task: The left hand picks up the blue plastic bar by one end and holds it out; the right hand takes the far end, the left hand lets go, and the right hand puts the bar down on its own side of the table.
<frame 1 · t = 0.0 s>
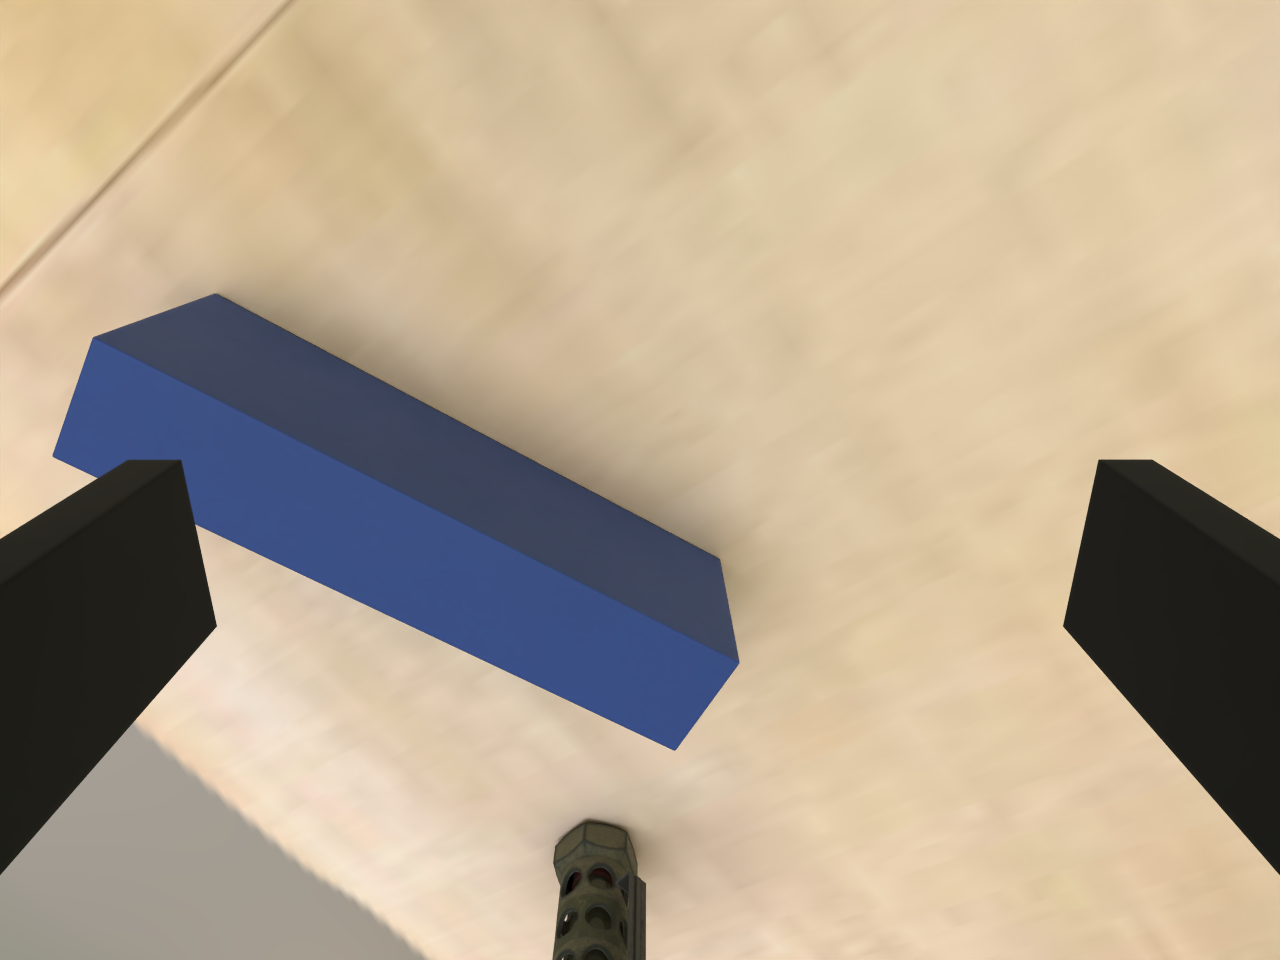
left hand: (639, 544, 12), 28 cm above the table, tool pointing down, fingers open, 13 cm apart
bar: (460, 477, 42), on the table
grenade: (617, 846, 51), on the table
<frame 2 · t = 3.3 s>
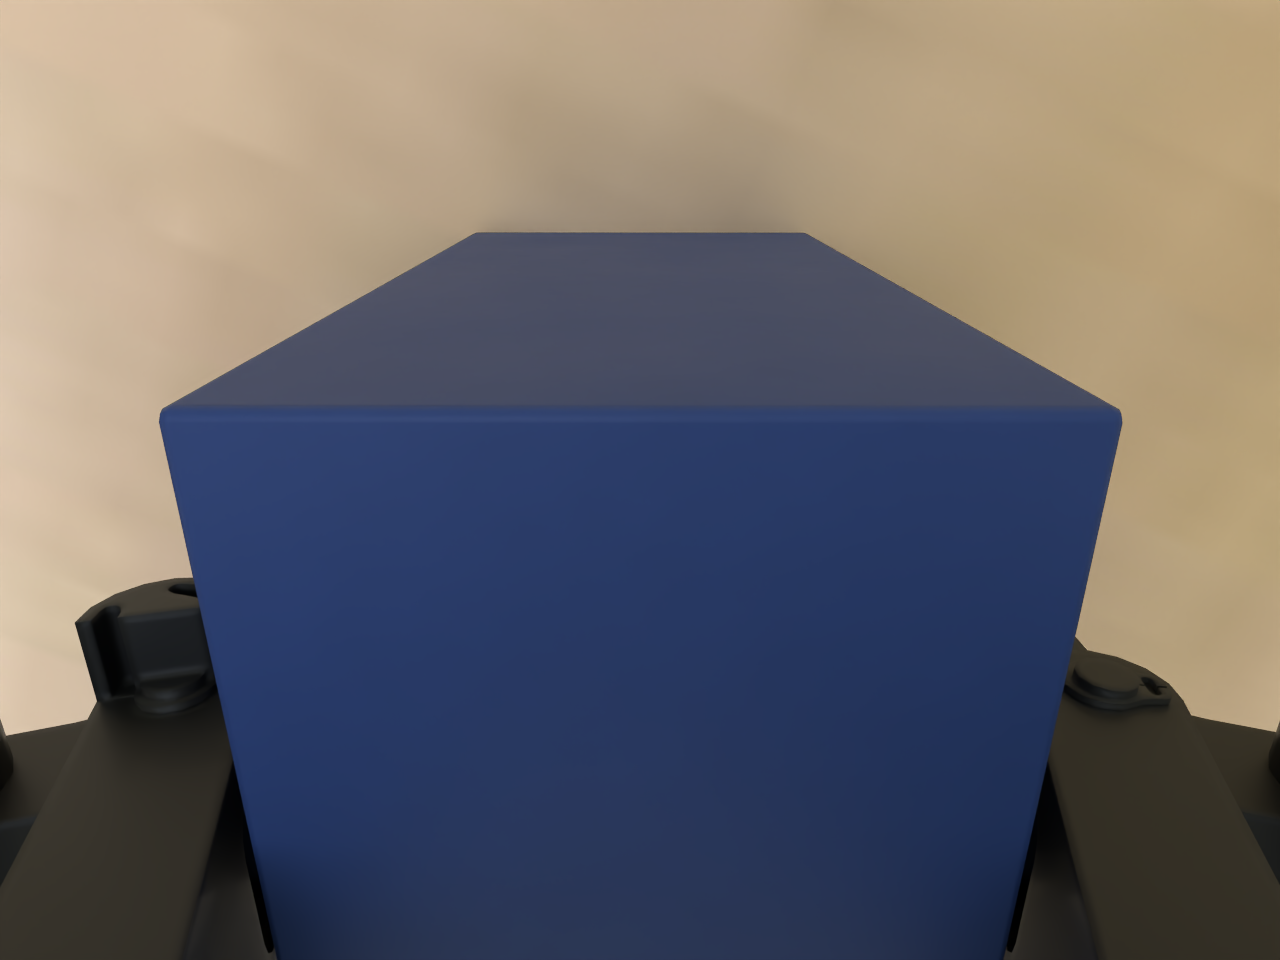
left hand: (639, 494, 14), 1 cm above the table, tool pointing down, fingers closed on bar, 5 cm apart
bar: (639, 886, 18), on the table, touching left hand
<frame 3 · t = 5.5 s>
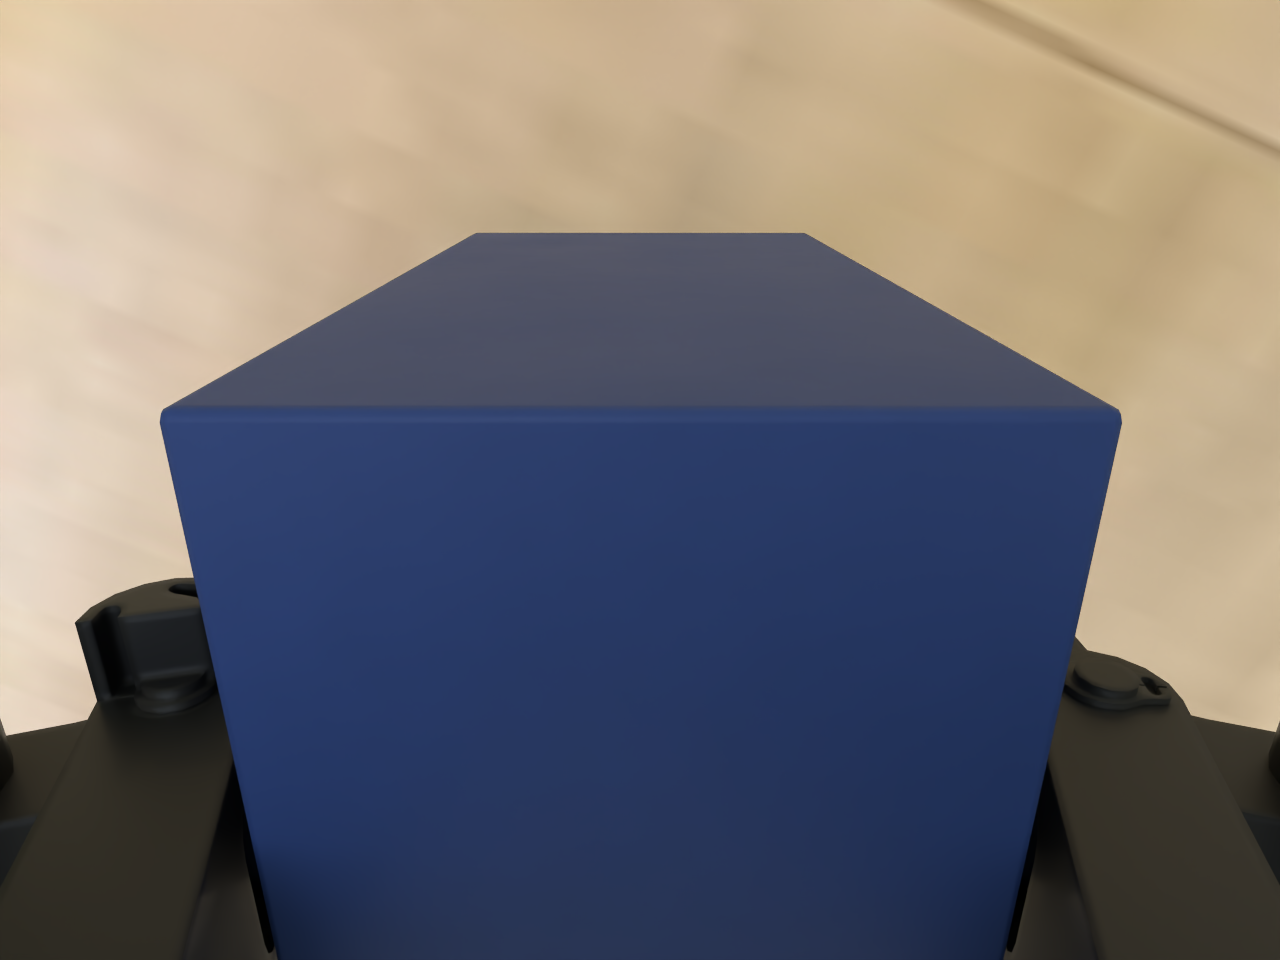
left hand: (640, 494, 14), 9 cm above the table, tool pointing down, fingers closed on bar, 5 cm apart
bar: (640, 886, 18), point 9 cm above the table, touching left hand
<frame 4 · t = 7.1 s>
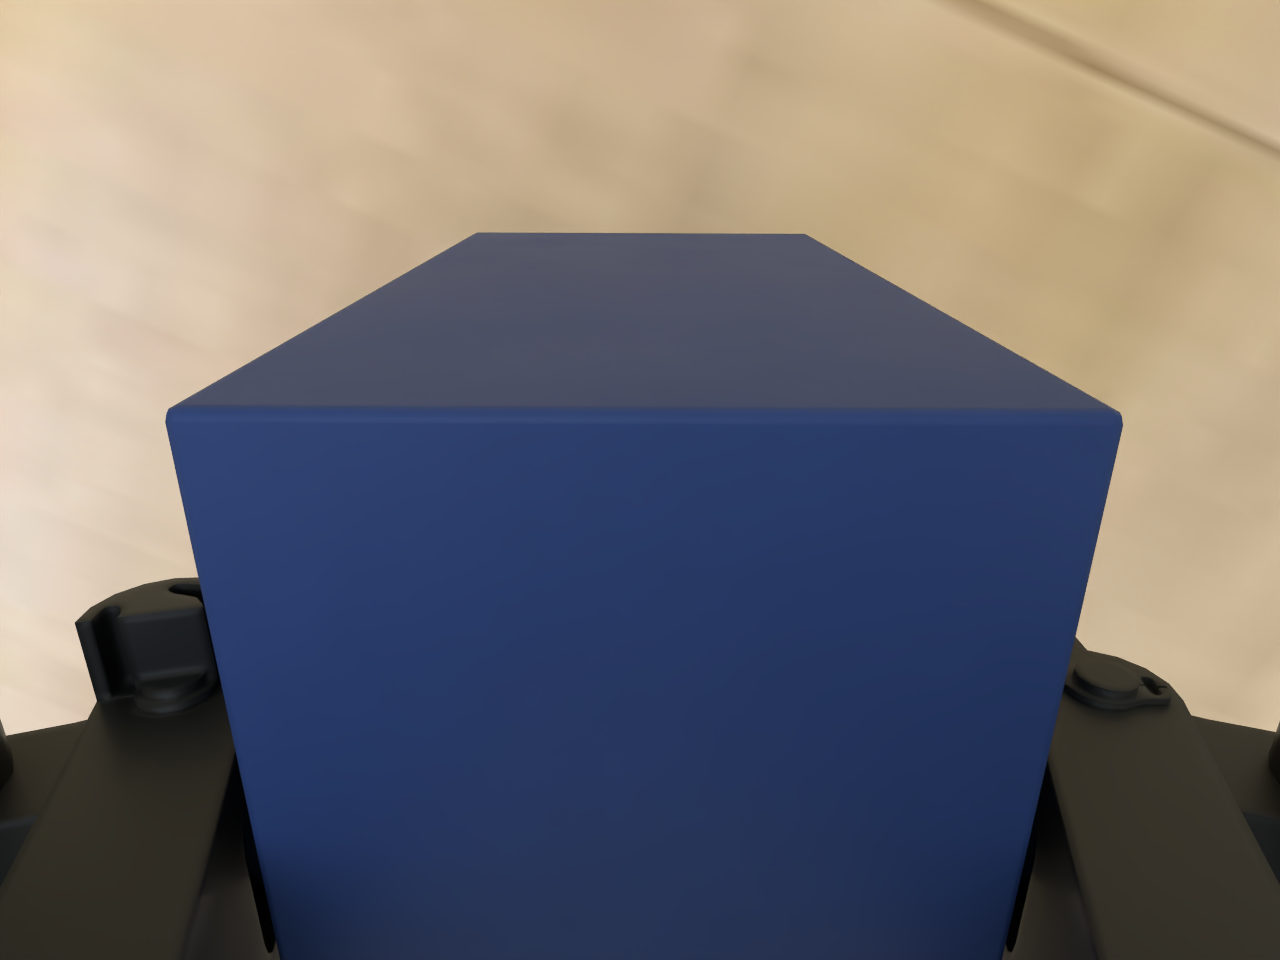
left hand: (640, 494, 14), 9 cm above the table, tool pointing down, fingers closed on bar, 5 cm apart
bar: (638, 885, 18), point 9 cm above the table, touching left hand, right hand
when the left hand's fingers open (9 cm above the table, at t = 8.0 s): bar stays where it is, held by the right hand.
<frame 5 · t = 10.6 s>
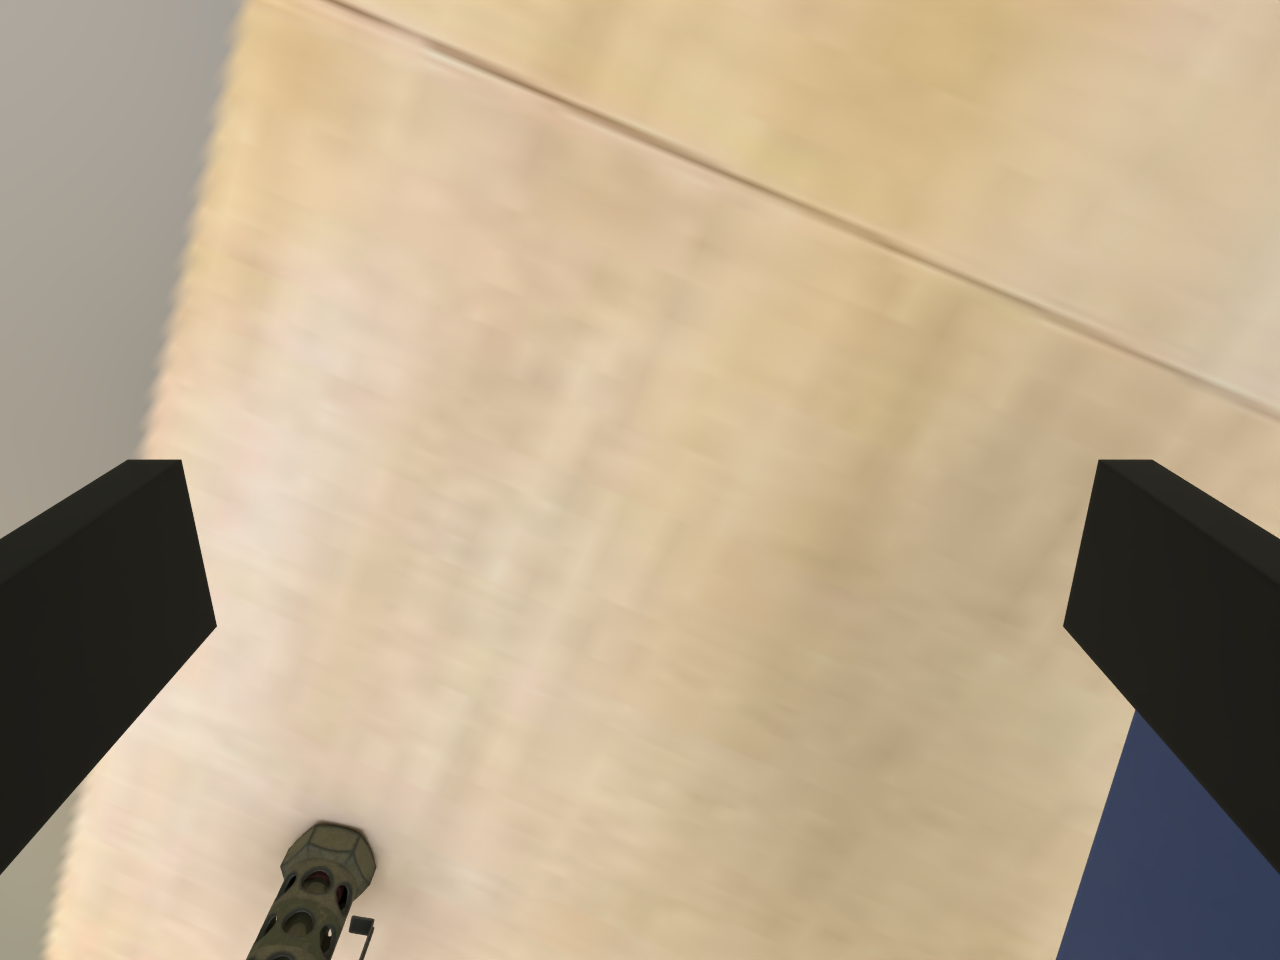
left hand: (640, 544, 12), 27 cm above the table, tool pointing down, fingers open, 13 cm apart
grenade: (351, 864, 50), on the table
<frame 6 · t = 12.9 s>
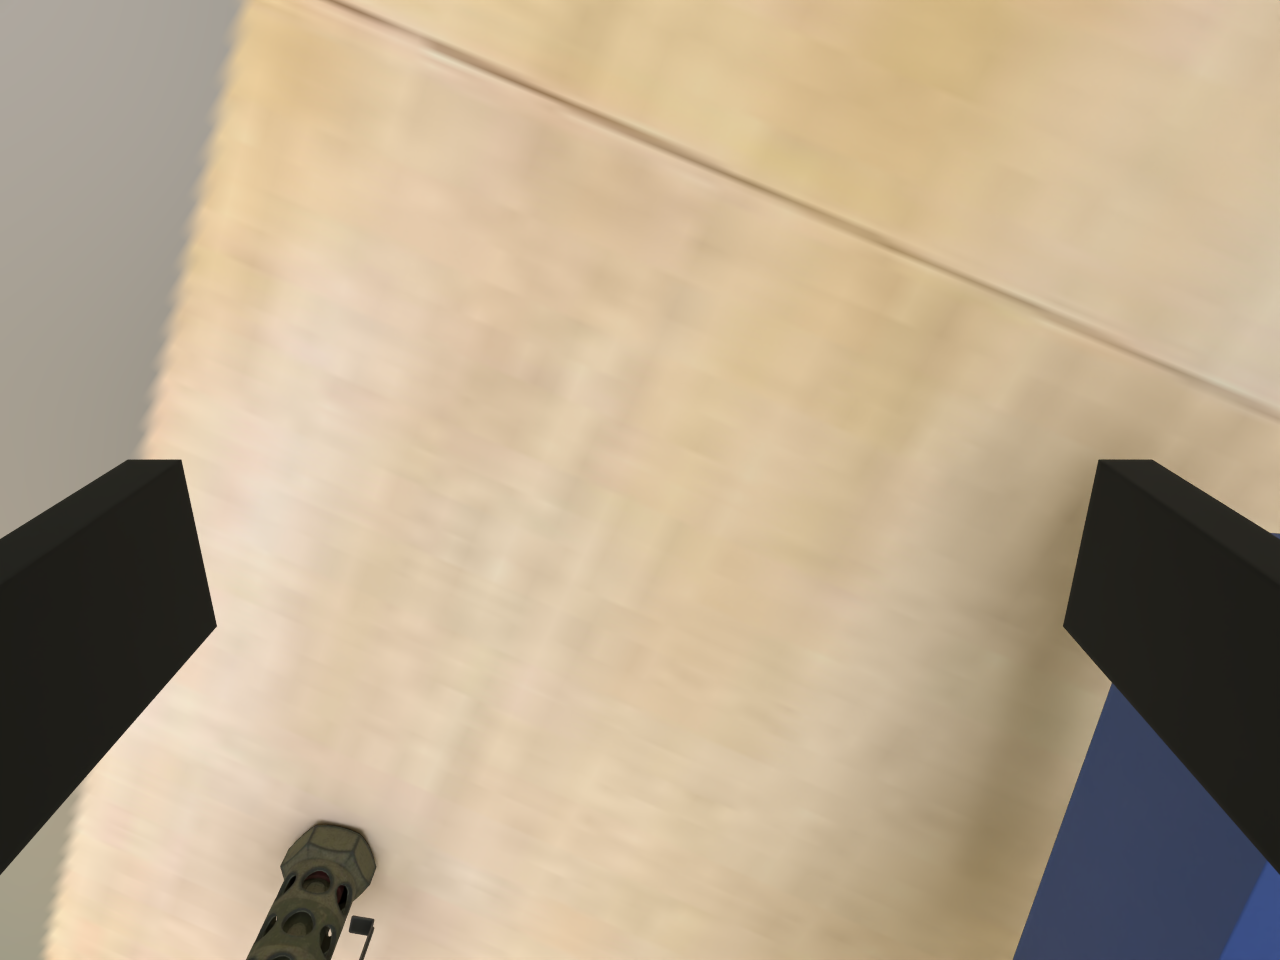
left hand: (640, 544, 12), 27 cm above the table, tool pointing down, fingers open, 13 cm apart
bar: (1126, 805, 38), point 8 cm above the table, touching right hand
grenade: (351, 864, 50), on the table
when the right hand's fingers open (5 cm above the table, at t = 14.5 s): bar stays where it is, on the table.
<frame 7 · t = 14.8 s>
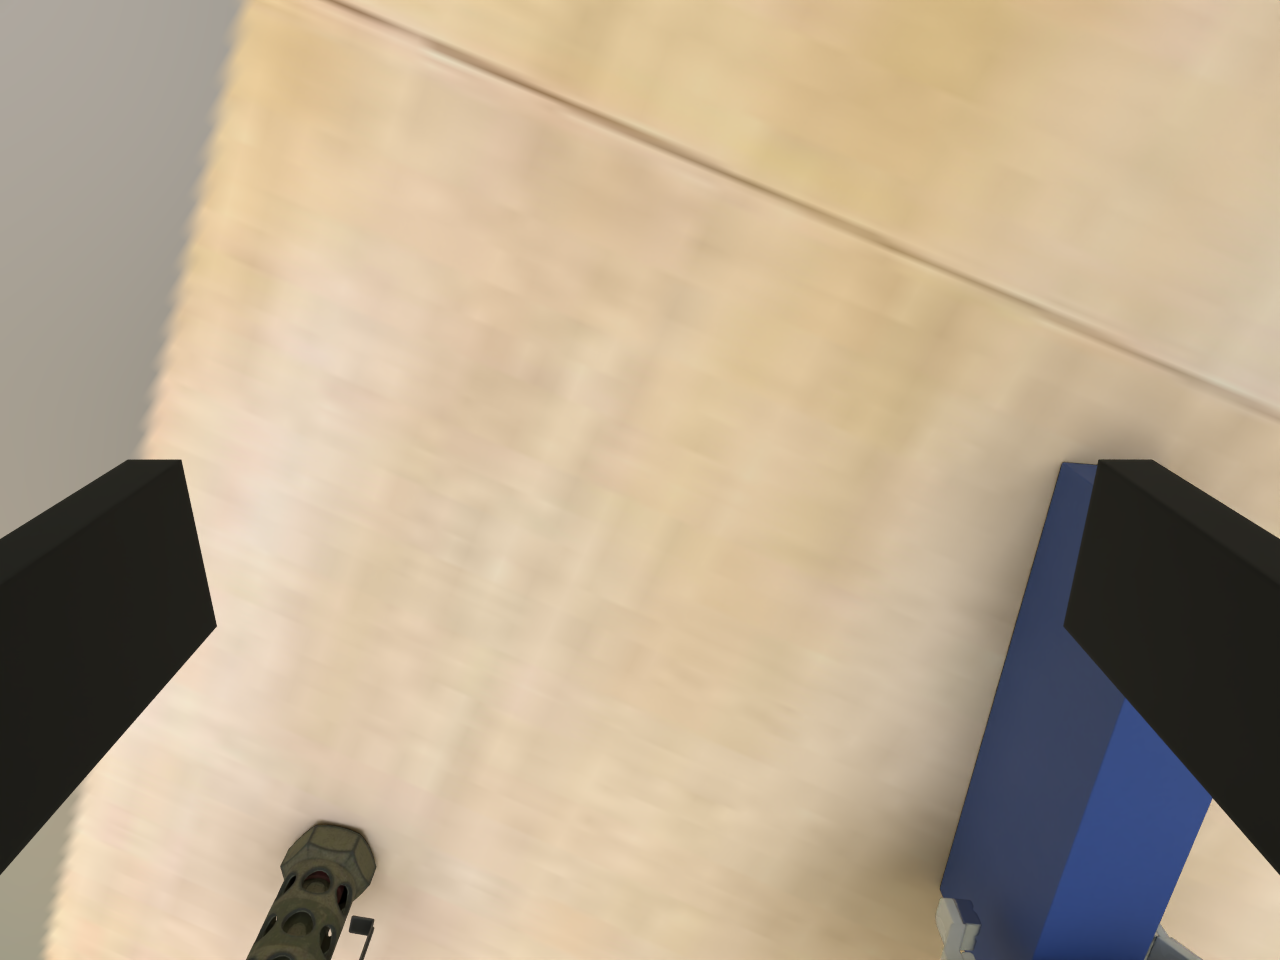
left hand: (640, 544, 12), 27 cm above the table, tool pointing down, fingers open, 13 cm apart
bar: (1041, 702, 46), on the table
grenade: (351, 864, 50), on the table
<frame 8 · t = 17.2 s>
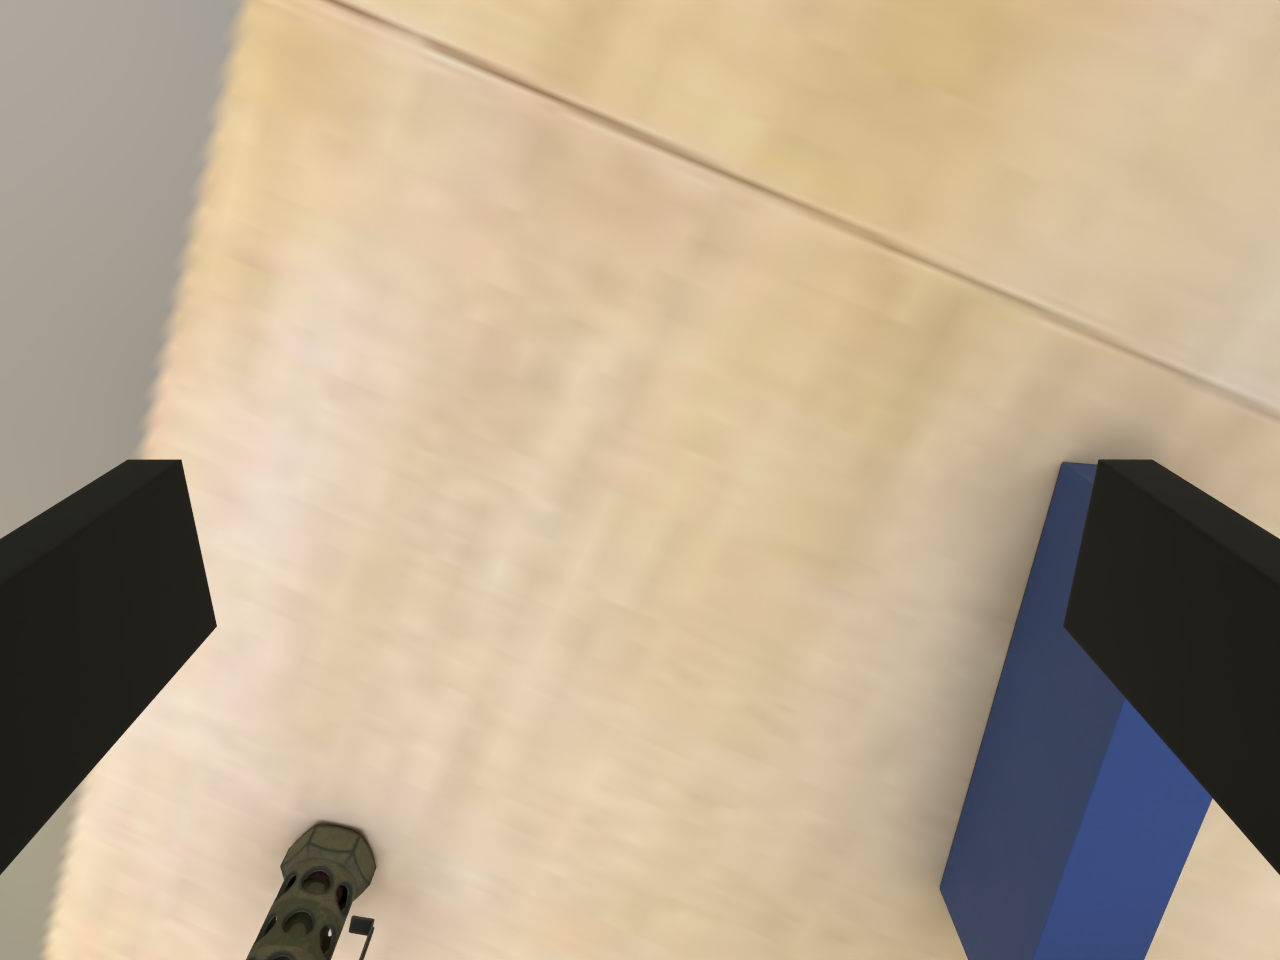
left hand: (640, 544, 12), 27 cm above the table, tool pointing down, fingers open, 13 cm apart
bar: (1041, 702, 46), on the table
grenade: (351, 864, 50), on the table
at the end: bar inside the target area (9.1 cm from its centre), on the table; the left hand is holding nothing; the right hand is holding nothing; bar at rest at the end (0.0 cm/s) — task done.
